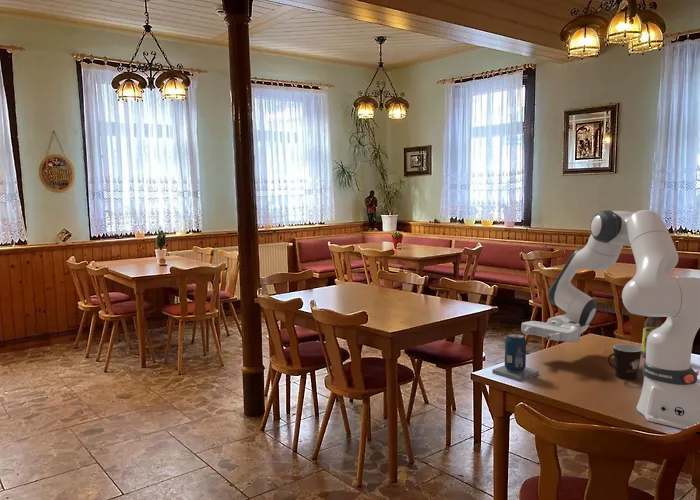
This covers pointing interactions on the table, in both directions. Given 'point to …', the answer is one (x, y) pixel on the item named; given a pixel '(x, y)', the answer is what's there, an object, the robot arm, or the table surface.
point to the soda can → (515, 352)
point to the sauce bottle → (649, 330)
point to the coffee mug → (626, 361)
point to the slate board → (515, 373)
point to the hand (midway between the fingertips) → (536, 334)
